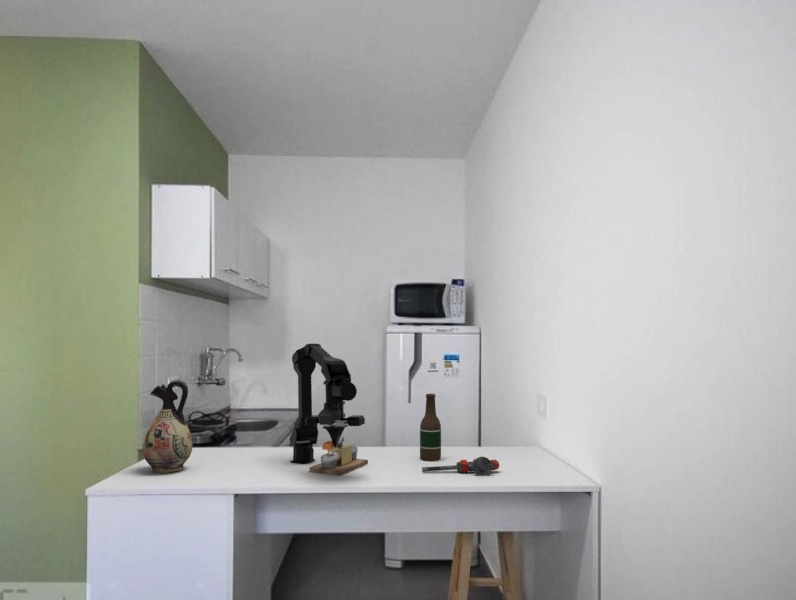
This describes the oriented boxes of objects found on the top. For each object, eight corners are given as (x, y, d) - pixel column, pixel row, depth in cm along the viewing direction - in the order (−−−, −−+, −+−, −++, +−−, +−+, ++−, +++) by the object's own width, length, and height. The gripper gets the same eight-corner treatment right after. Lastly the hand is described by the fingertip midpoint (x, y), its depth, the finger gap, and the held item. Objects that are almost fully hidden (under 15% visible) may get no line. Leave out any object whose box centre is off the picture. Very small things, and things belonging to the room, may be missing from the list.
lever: (337, 441, 193) (337, 436, 194) (345, 441, 193) (345, 436, 193) (322, 449, 178) (322, 443, 179) (330, 449, 178) (330, 444, 178)
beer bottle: (415, 459, 207) (415, 393, 208) (430, 456, 212) (430, 392, 214) (430, 462, 201) (430, 395, 203) (445, 459, 206) (445, 394, 208)
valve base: (309, 471, 185) (309, 445, 186) (338, 461, 202) (338, 436, 203) (340, 475, 180) (341, 448, 181) (367, 464, 197) (368, 439, 198)
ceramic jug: (132, 475, 178) (136, 381, 181) (155, 465, 194) (158, 378, 196) (184, 476, 178) (187, 381, 180) (203, 465, 193) (206, 378, 195)
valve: (494, 472, 196) (503, 476, 181) (420, 476, 194) (424, 480, 180) (492, 453, 197) (501, 455, 182) (419, 457, 196) (423, 459, 181)
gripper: (297, 401, 177) (298, 451, 175) (351, 401, 171) (353, 453, 170) (312, 398, 187) (313, 445, 186) (364, 397, 182) (366, 446, 181)
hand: (335, 447), depth 180 cm, fingers closed
